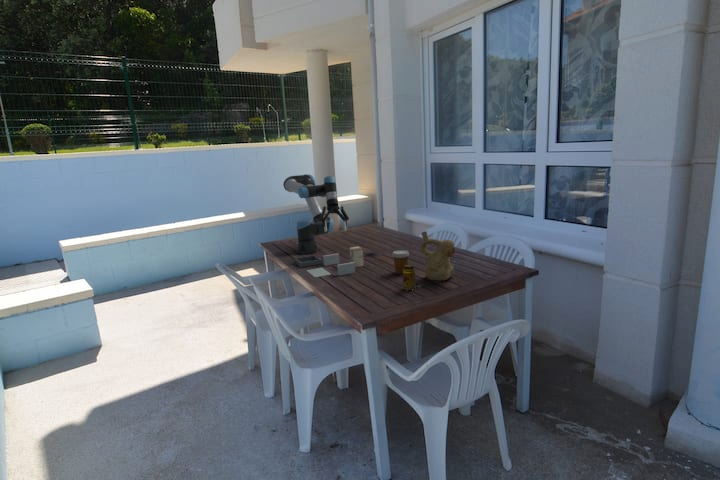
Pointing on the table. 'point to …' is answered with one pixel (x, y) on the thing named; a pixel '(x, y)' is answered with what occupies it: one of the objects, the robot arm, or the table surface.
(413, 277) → the condiment
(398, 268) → the disposable coffee cup
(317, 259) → the tray
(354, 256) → the birch block
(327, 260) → the walled passage
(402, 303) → the table surface
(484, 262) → the table surface
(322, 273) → the pad
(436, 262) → the ceramic vessel
